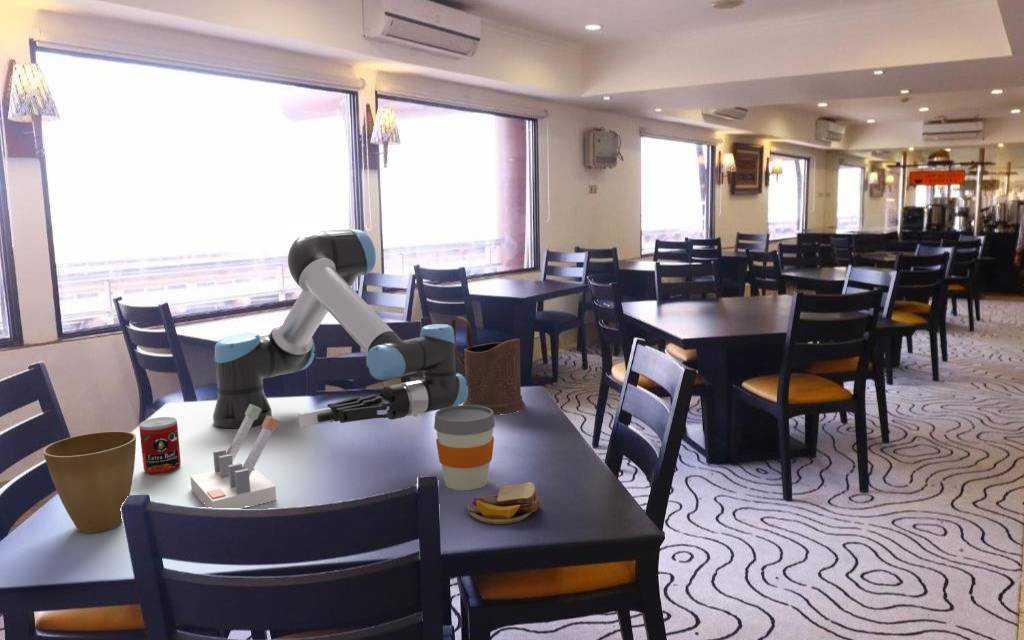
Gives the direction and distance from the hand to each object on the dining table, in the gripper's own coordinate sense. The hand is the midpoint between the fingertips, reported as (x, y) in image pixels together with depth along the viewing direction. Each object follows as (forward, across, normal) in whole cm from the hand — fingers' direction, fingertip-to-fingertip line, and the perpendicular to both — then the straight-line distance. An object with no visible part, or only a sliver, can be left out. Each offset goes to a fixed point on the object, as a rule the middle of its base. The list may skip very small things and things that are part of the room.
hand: (300, 420), depth 154 cm
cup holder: (-65, +29, -15) cm, 73 cm away
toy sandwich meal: (-26, -35, -16) cm, 46 cm away
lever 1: (+13, +12, -11) cm, 20 cm away
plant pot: (+37, +7, -15) cm, 40 cm away
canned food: (+21, +32, -14) cm, 41 cm away
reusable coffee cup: (-28, -18, -15) cm, 37 cm away
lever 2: (+13, +1, -11) cm, 17 cm away
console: (+13, +6, -15) cm, 20 cm away
